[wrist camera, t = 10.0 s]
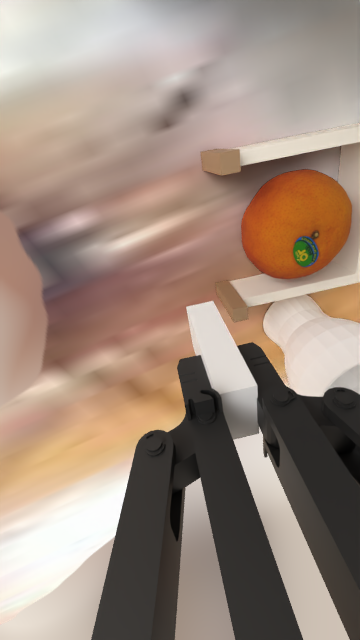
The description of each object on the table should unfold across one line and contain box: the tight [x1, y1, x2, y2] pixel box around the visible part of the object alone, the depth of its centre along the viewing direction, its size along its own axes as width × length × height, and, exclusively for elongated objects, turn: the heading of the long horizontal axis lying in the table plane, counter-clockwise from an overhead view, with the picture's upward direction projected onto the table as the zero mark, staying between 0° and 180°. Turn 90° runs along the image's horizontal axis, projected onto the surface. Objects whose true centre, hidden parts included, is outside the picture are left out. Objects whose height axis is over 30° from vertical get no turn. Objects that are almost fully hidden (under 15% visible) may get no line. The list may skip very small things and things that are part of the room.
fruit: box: [241, 169, 352, 279], centre depth 30 cm, size 11×10×8 cm
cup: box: [263, 294, 360, 397], centre depth 34 cm, size 11×11×15 cm
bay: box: [201, 123, 360, 322], centre depth 30 cm, size 16×16×7 cm
